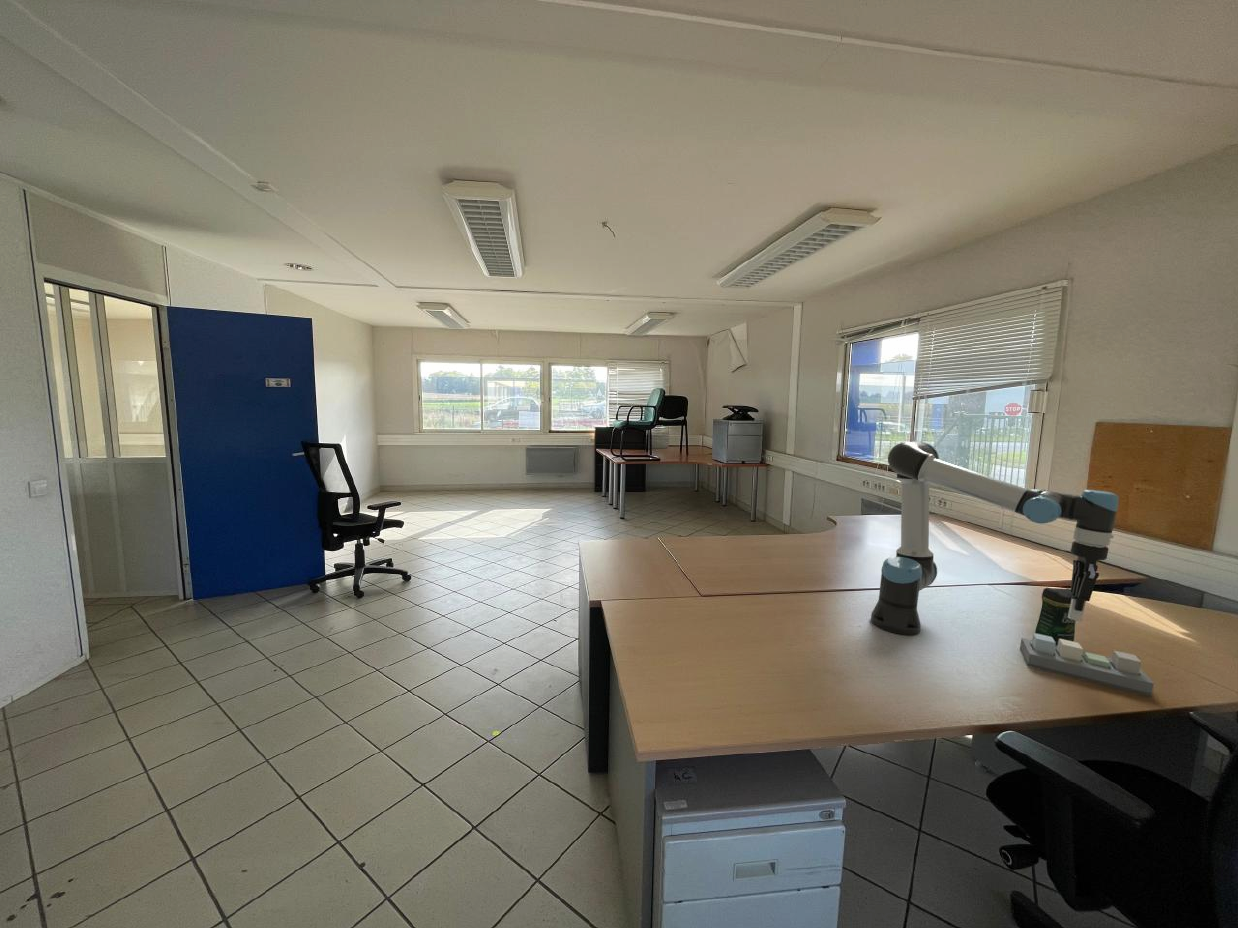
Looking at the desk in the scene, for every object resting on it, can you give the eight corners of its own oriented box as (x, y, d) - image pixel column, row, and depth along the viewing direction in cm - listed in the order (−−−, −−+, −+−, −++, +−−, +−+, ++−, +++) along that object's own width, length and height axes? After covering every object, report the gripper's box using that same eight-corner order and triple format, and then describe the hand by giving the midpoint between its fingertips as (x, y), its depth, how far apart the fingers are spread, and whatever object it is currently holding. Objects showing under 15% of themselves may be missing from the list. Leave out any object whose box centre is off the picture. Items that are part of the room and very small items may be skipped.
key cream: (1060, 656, 140) (1062, 644, 140) (1056, 650, 144) (1058, 638, 143) (1080, 661, 138) (1082, 648, 137) (1076, 655, 142) (1078, 642, 141)
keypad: (1027, 666, 142) (1029, 653, 141) (1019, 649, 152) (1021, 637, 151) (1151, 696, 128) (1153, 683, 127) (1133, 675, 138) (1135, 663, 138)
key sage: (1086, 670, 137) (1089, 658, 137) (1082, 664, 141) (1084, 651, 141) (1107, 675, 135) (1109, 662, 135) (1102, 668, 139) (1104, 656, 138)
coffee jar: (1051, 647, 154) (1060, 593, 151) (1029, 635, 161) (1037, 584, 159) (1079, 647, 154) (1088, 594, 152) (1055, 635, 162) (1064, 584, 159)
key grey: (1116, 670, 134) (1119, 657, 133) (1111, 663, 138) (1113, 650, 137) (1138, 675, 132) (1141, 661, 131) (1132, 667, 135) (1134, 655, 135)
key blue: (1034, 650, 143) (1036, 638, 143) (1031, 644, 147) (1033, 632, 146) (1053, 655, 141) (1055, 642, 140) (1049, 648, 145) (1051, 636, 144)
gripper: (1117, 552, 129) (1099, 631, 132) (1100, 540, 140) (1084, 614, 143) (1080, 546, 132) (1064, 624, 136) (1066, 535, 143) (1052, 607, 147)
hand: (1074, 619), depth 140 cm, fingers closed
